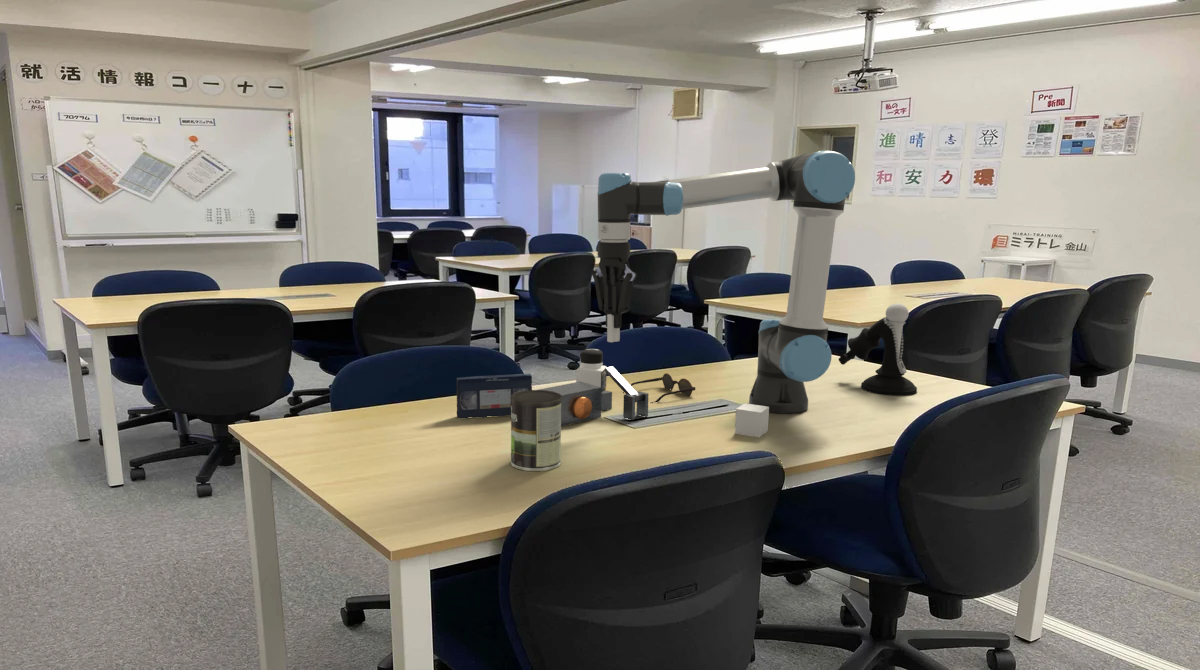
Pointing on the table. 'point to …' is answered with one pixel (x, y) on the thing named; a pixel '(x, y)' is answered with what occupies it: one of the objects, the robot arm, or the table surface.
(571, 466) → the table surface
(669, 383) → the eyeglasses
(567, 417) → the hitch block
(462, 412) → the vhs cassette tape
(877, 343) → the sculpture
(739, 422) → the white cube
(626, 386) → the keeper
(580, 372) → the medicine bottle
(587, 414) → the pin
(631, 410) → the bracket
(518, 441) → the coffee can
